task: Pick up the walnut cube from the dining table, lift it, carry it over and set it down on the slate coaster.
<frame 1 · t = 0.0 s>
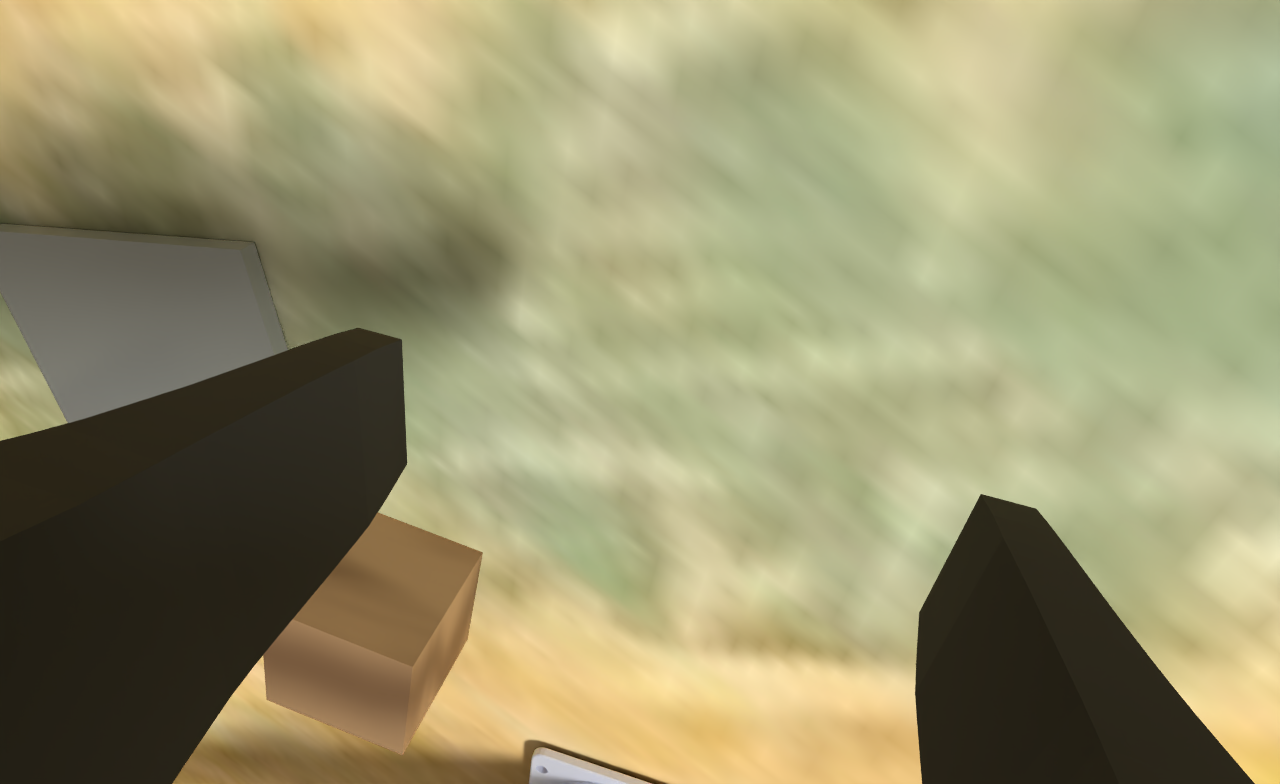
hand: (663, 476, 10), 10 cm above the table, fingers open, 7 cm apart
walnut cube: (413, 572, 28), on the table
slate coaster: (172, 374, 26), on the table
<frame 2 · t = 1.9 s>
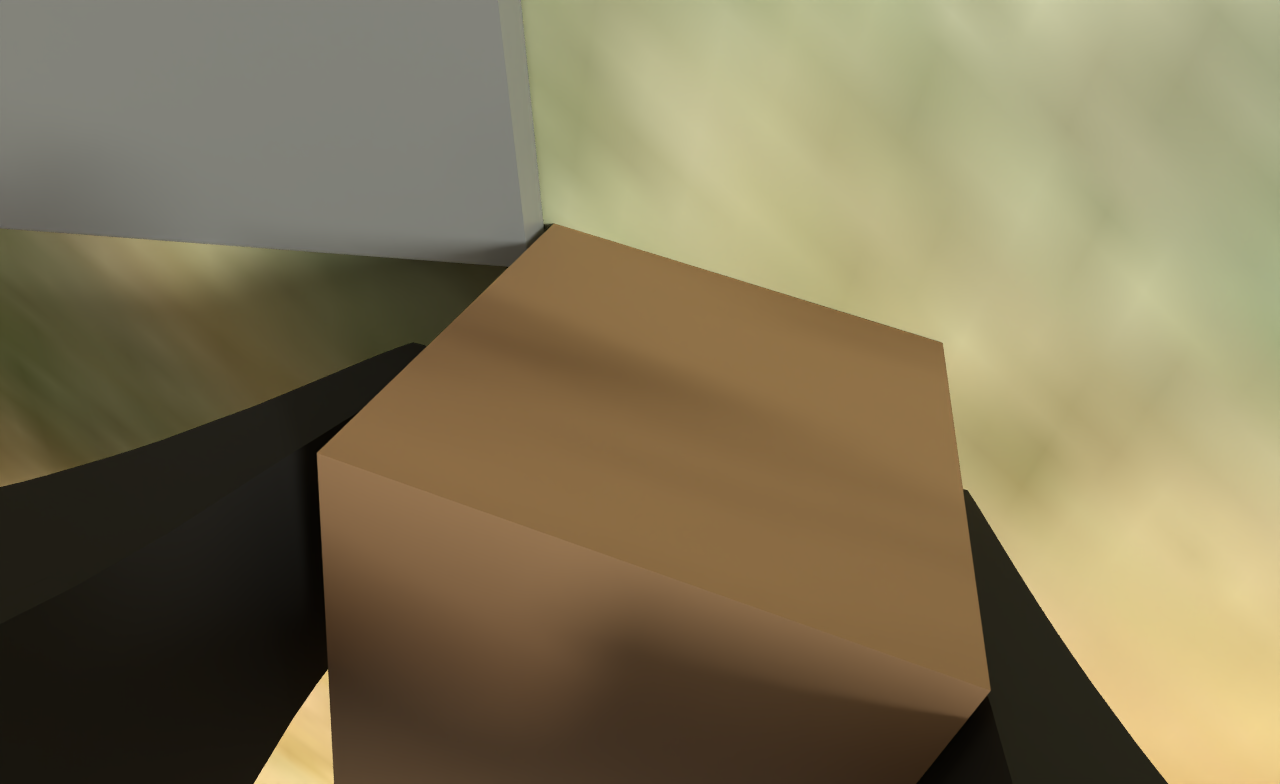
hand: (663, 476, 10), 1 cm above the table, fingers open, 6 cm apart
walnut cube: (694, 436, 11), on the table, touching gripper
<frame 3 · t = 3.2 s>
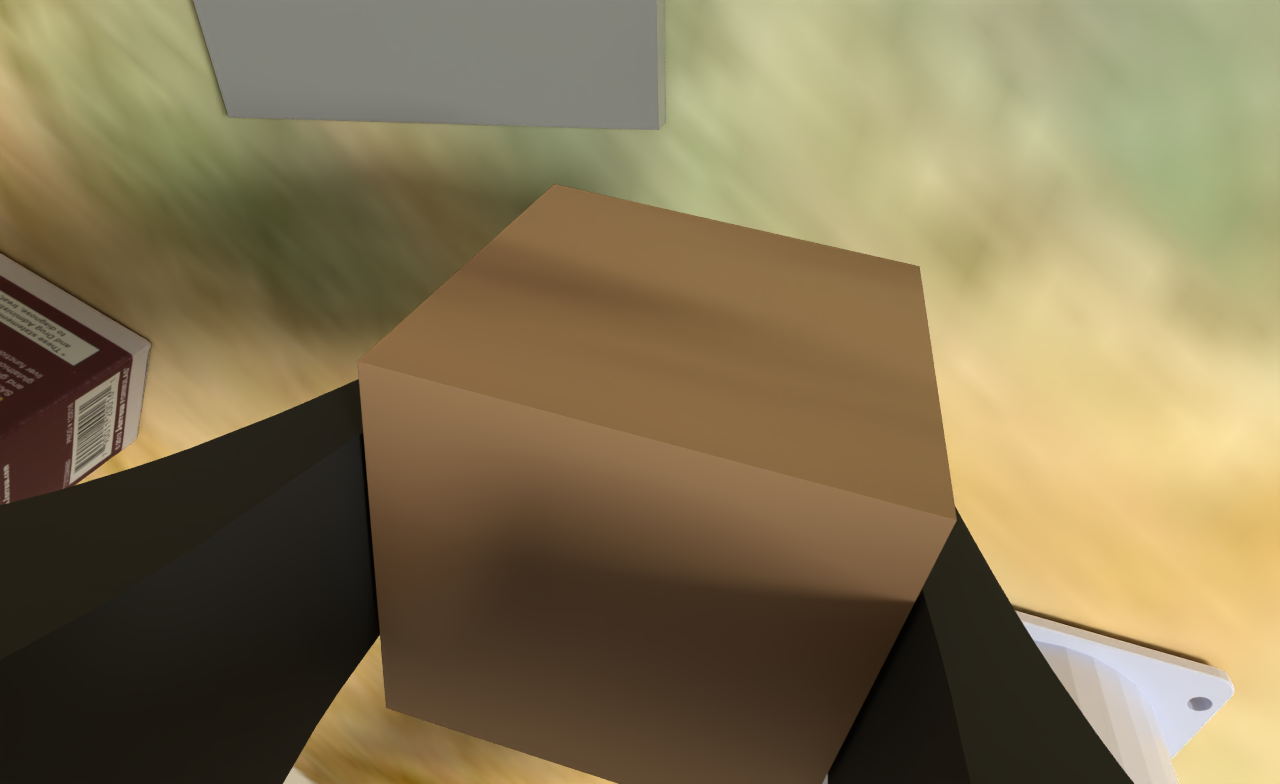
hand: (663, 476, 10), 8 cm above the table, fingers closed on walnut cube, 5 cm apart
supplement box: (35, 320, 24), on the table
walnut cube: (697, 378, 12), point 6 cm above the table, touching gripper
when the fingers open (3 cm above the table, at t = 5.3 s): walnut cube stays where it is, resting on slate coaster.
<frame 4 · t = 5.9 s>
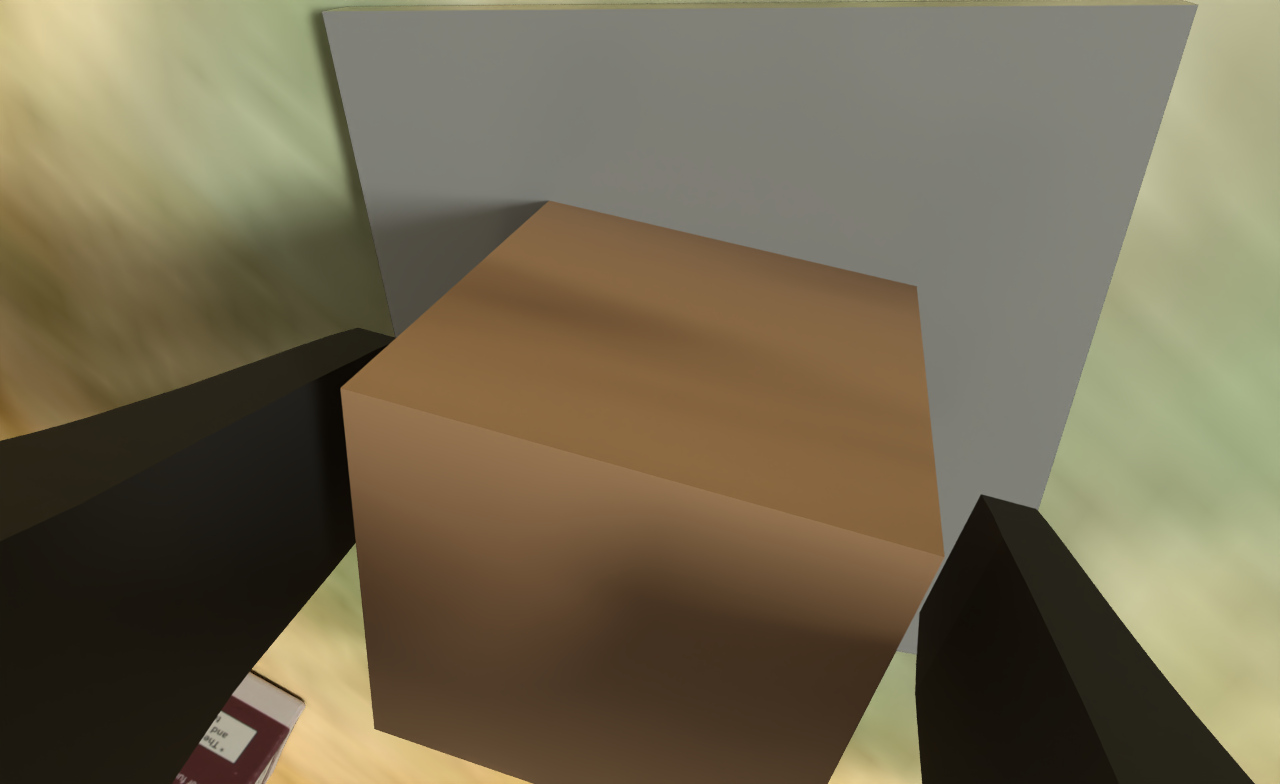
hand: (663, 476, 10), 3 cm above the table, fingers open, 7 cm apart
supplement box: (170, 658, 22), on the table
walnut cube: (693, 395, 12), point 1 cm above the table, touching slate coaster
slate coaster: (705, 362, 12), on the table
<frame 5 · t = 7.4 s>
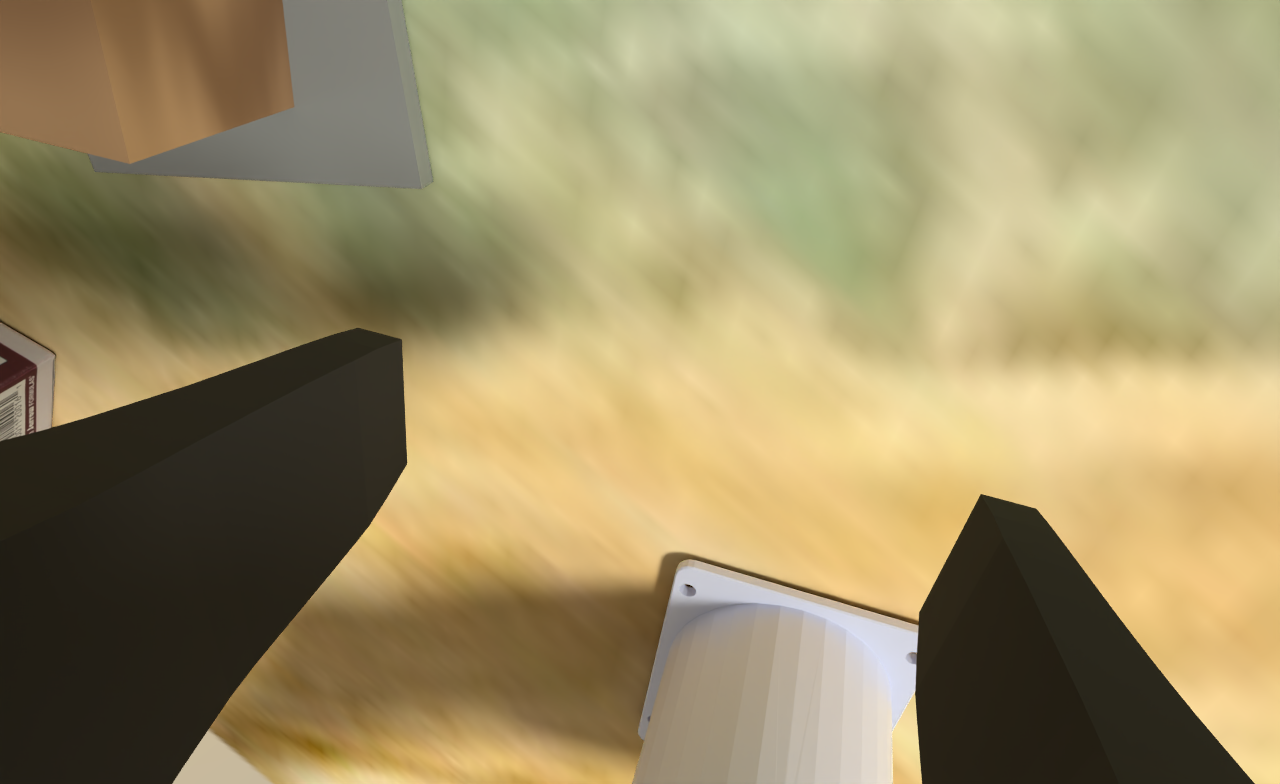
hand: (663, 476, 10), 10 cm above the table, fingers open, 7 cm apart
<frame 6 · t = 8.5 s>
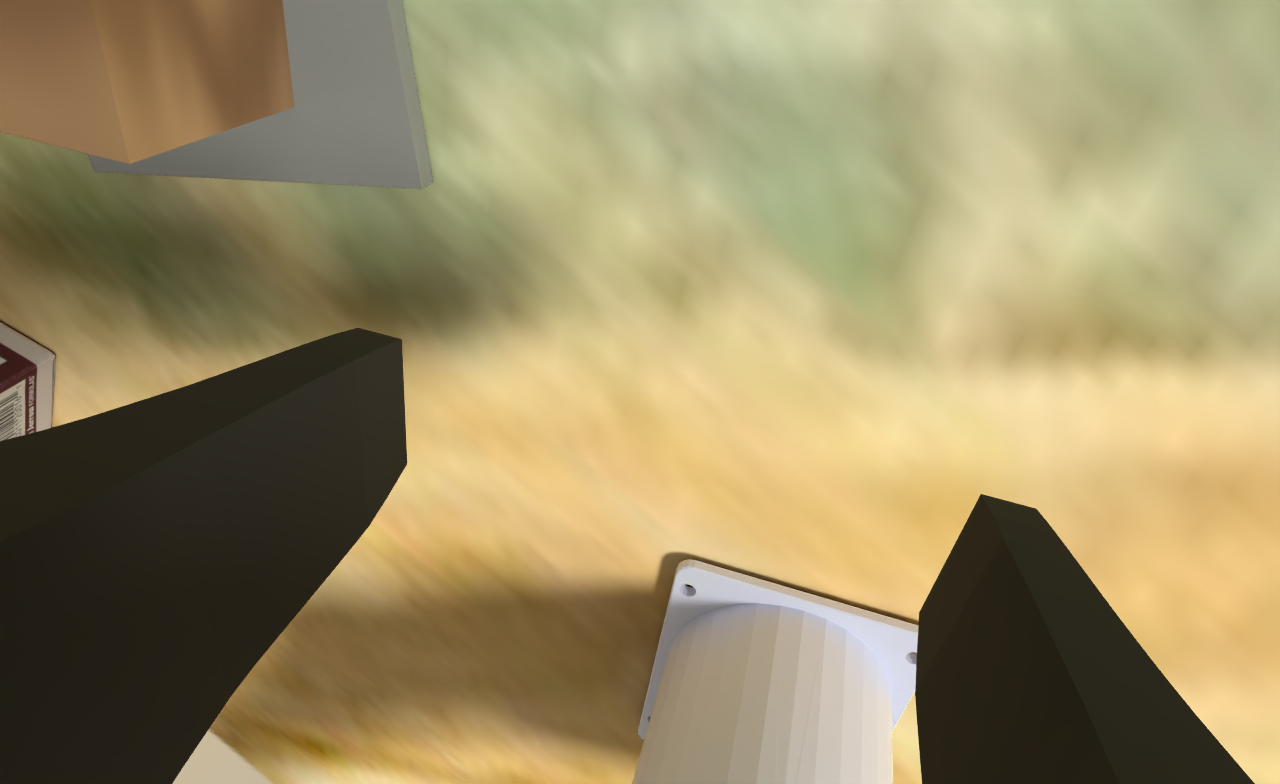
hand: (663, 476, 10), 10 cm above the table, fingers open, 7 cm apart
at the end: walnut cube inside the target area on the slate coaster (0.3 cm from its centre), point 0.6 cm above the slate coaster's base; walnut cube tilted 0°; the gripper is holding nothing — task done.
